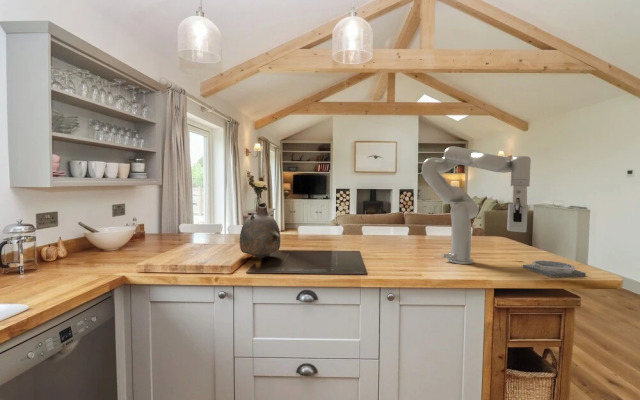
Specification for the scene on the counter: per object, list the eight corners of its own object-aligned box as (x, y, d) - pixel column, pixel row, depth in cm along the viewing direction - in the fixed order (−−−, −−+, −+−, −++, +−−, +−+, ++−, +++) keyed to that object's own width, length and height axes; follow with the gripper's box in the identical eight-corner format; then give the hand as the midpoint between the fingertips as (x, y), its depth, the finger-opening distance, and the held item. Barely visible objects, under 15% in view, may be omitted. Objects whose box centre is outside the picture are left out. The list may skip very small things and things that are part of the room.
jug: (230, 262, 170) (230, 203, 169) (246, 253, 191) (246, 201, 190) (276, 264, 166) (276, 204, 165) (287, 255, 187) (288, 202, 186)
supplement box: (526, 232, 150) (528, 204, 149) (508, 231, 153) (509, 203, 153) (524, 230, 157) (526, 203, 156) (506, 229, 160) (507, 203, 159)
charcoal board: (551, 277, 146) (551, 274, 146) (522, 267, 163) (522, 264, 163) (585, 276, 149) (585, 272, 149) (553, 266, 166) (553, 263, 166)
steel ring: (551, 273, 147) (552, 269, 147) (524, 264, 163) (524, 260, 163) (584, 272, 149) (584, 268, 149) (553, 263, 165) (553, 259, 165)
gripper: (527, 183, 144) (526, 223, 145) (531, 183, 158) (529, 220, 159) (508, 183, 149) (506, 222, 150) (513, 183, 163) (511, 218, 164)
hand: (518, 220), depth 155 cm, fingers closed on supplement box, 8 cm apart
